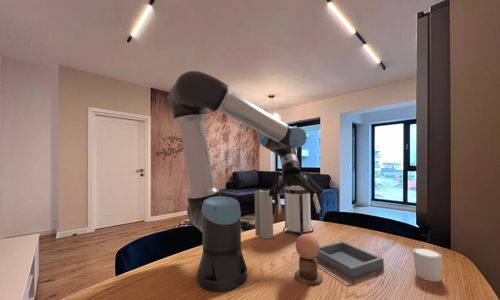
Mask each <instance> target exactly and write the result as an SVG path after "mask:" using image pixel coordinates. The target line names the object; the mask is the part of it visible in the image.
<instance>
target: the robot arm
mask: <svg viewBox="0 0 500 300" xmlns="http://www.w3.org/2000/svg"><path fill="white" fill-rule="evenodd" d="M167 104H168V106H169V107H168V108H170V110H171V111H172V116H173V121H175V122H176V123H177V124H178V125H179V129H180V130H179V131H180V136H181V137H180V138H181V142H182V148H183V154H184V158H185V165H186V171H187V176H188V184H189V187H190V188H189V189H190V192H189V193H188V194H187V196H186V198H187V203H188V205H187V210H186V214H187V218H188V221H189V222H190V223H191V224H192V225H193V226H194V227H196V228H197V229H198V230H199V231H200V232H201V233H202V254H201V258H200V262H199V264H198V268H197V272H196V282H197V284H198V286H199V287H201V288H202V289H203V290H207V291H211V292H225V291H227V292H228V291H231V290H234V289H236V288H239V287H240V286H241V285H243V284H244V283H245V282H246V280H247V278H248V267H247V264H246V261H245V258H244V255H243V252H242V240H241V239H242V232H241V231H242V230H241V229H242V227H241V226H242V225H241V222H242V221H241V216H242V211H241V204H240V202H239V200H237V199H236V198H234V197H230V196H228V197H227V196H225V195H223V196H222V195H221V192H220V189H219V188H218V187H217V186H215V182H214V181H215V180H214V176H213V167H212V163H211V157H210V152H209V150H210V149H209V146H208V140H207V133H206V127H205V126H206V125H205V121H206V119H207V117H208V113H207V110H209V111H211V112H212V113H216V112H220V113H222V114H223V115H225V116H227V117H229V118H231V119H233V120H235V121H236V122H239V123H241V124H243V125H245V126H246V127H249V128H250V129H252V130H254V131H256V132H258V133H259V134H258V137H257V142H258V144H259V145H261V146H262V147H263V148H266V149H267V150H269V151H270V152H272V153H274V154H276V155H277V156H279V159H280V166H281V171H282V175H279V174H278V173H276V174H275V179H274V181H273V183H272V185H271V187H270V188H269V190H270V191H269V196H270V197H271V196H272V198H273V201H274V205H275V206H276V205H277V210H278V215H281V214H282V205H281V195H280V194H281V193H282V192H284V189H285V187H287V186H288V185H290V186H298V185H299V186H300V187H303V188H304V189H305V190H307V191H308V192H309V193H310V195H312V196H313V197H312V200H313V203H314V204H313V205H314V207H315V211H316V213H317V214H319V213H320V212H321V206H320V204H321V202H322V201H321V196H322V195H323V193H324V190H323V188H321V187H320V186H319V184H318V183H317V182H316V181H315V180H314V179H313V178H312V176H311V174H310V173H306V175H304V174H302V171H301V167H300V162H299V159H298V156H297V149H296V148H301V147H303V146H304V145H305V144H306V142H307V132H306V130H305V129H304V128H303V127H299V126H297V127H296V126H294V127H292V126H290V125H288V124H287V123H285V122H283V121H281V120H280V119H278V118H277V117H275V116H273V115H271V114H270V113H268V112H266V111H265V110H264V109H262V108H260V107H258V106H257V105H255V104H254V103H251V102H250V101H249V100H247V99H245V98H243V97H242V96H240V95H239V94H237V93H235V92H234V91H232V90H230V86H229V85H228V84H227V83H225V82H223V81H222V80H220V79H218V78H216V77H215V76H214V75H211V74H209V73H208V74H207V73H205V72H202V71H198V70H190V71H186V72H184V73H181V75H179V77H178V78H177V80H176V81H175V83H174V84H173V86H172V87H171V88H170V90H169V92H168V97H167ZM304 179H305V180H306V181H307V182H308V183H309V184H308V183H306V182H305V180H304ZM281 180H282V181H283V182H282V183H281V184H280V185H279V186H278V184H279V182H281ZM277 187H278V188H277Z"/></svg>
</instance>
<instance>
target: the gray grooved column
mask: <svg viewBox="0 0 500 300" xmlns="http://www.w3.org/2000/svg"><path fill="white" fill-rule="evenodd" d="M269 191H270V189H258V190H254V224H255V225H254V227H255V228H254V229H255V237H260V238H262V239H264V240H267V239H272V238H273V237H274V221H273V220H274V216H273V214H274V213H273V212H274V211H273V196H271V197H270V196H269Z"/></svg>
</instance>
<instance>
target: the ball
mask: <svg viewBox="0 0 500 300" xmlns="http://www.w3.org/2000/svg"><path fill="white" fill-rule="evenodd" d="M295 241H296V242H295V250H296V252H297V254H298V255H299V257H300V256H301V257H303V258H305V259H313V258H315V257H316V256H317V255H318V253H319V250H320V247H321V246H320V243H319V241H318V239H317V238H316V237H315V236H314V235H312V234H310V233H304V234H303V235H300V236H298V237H297V239H296V240H295Z"/></svg>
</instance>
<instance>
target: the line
mask: <svg viewBox="0 0 500 300" xmlns="http://www.w3.org/2000/svg"><path fill="white" fill-rule="evenodd" d="M317 268H318V269H320V270H322V271H324V272H325V273H327V274H328V275H329V276H331V277H333V278H335V280H338V281H339V282H341V283H342V284H344V285H345V286H350V285H351V283H349V282H348V281H346V280H345V279H343V278H342V277H340V276H338V275H337V274H335V273H333V272H332V271H330V270H328V269H327V268H325V267H324V266H323V265H321V264H319V263H317Z"/></svg>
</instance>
